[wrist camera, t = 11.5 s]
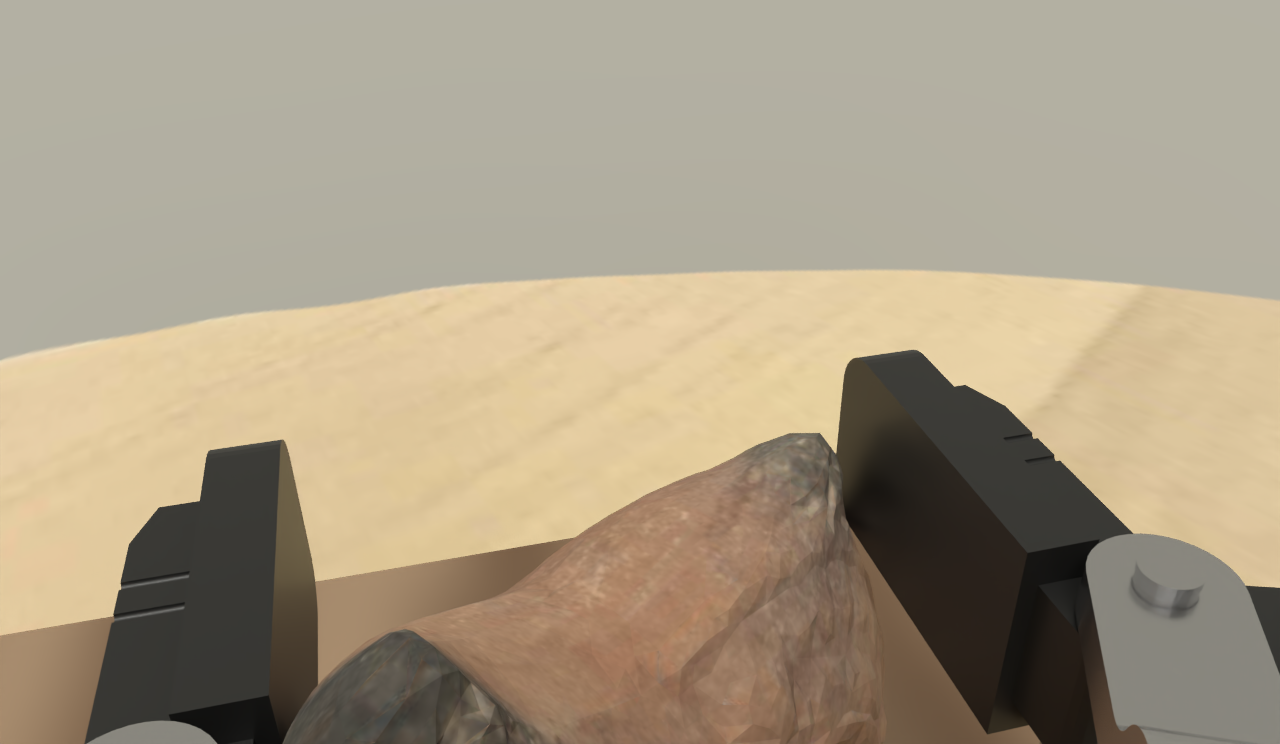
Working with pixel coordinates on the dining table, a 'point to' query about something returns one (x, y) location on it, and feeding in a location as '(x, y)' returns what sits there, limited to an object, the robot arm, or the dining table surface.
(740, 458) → the oil lamp
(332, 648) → the wooden block
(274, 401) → the dining table surface
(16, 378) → the dining table surface
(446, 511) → the dining table surface
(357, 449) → the dining table surface
